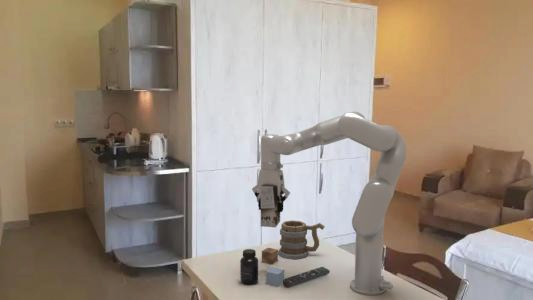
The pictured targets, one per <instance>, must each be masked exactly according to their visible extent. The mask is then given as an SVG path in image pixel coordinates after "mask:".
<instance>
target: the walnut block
mask: <svg viewBox="0 0 533 300" xmlns="http://www.w3.org/2000/svg"><path fill="white" fill-rule="evenodd" d="M278 251H279V249H277V248H271V247H267V248H263V250H261V263H264V264H268V265H273V264H275V263H277V262H278V261H279V259H278V258H279V257H278V256H279V254H278Z"/></svg>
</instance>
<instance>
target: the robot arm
mask: <svg viewBox="0 0 533 300" xmlns="http://www.w3.org/2000/svg"><path fill="white" fill-rule="evenodd" d="M345 139H350V140H351V141H353V142H355V143H358V144H359V145H362V146H364V147H366V148H368V149H371V150H373V151H376V152H380V155H379V158H378V160H377V162H376V166H375V168H374V172H373V173H372V177H371V178H370V180H369V181H368V182H367V183H366V184H365V186H364V188H363V190H362V193H361V195H360V197H359V199H358V202H357V205H356V207H355V211H354V213H353V215H352V218H351V225H352V228H353V231H354V232H355V250H354V251H355V253H354V256H355V257H354V258H355V259H354V279H352V280H351V281H350V283H349V286H350V289H351V290H352V291H354V292H356V293H358V294H360V295H367V296H376V295H382V294H383V293H384V292H385V291H386V290H390V291H393V288H394V285H393V284H392V282H391V281H388V280H385V279H384V278H385V277H384V276H383V275H382V274H383V273H382V271H383V270H382V269H383V268H382V267H383V246H384V244H383V243H384V242H383V241H384V230H385V215H386V213H387V210H388V208H389V205H390V203H391V201H392V198H393V197H394V193H395V190H396V185H397V183H398V181H399V179H400V175H401V172H402V170H403V167H404V164H405V160H406V154H407V149H406V148H407V146H406V143H405V139H404V138H403V136H402V135H401V134H400V132H399V131H398V130H397V128H395V127H393V126H391V125H389V124H382V125H380V124H378V123H375V122H374V121H371V120H369V119H367V118H365V116H364V115H363V114H362V113H361V112H359V111H349V112H348V111H347V112H345V113H343V114H342V115H339V116H336V117H333V118H329V119H326V120H324V121H321V122H318V123H316V124H315V125H314V126H312V127H309V128H306V129H304V130H301V131H297V132H295V133H290V134H286V135H285V134H284V135H278V134H271V133H270V134H263V135H262V136H261V138H260V169H259V172H258V177H257V178H258V179H257V184H256V185H255V186H253V187H252V188H251V189H252V192H253V193H254V196H255V197H256V200H257V205H258V211H261V185H274V186H277V200H278V201H279V202H278V203H277V212H278V213H280V214H281V213H282V212H283V211H284V202H285V201H286V200H287V199H288V197H289V196H290V194H291V191H289V190H288V189H287V188H286V186H285V177H284V172H283V170H282V169H283V167H284V165H283V164H282V163H281V155H283V156H291V155H294V154H297V153H299V152H302V151H305V150H308V149H312V148H315V147H319V146H325V145H327V146H328V145H330V144H334V143H337V142H340V141H342V140H345Z"/></svg>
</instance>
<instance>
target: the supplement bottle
mask: <svg viewBox="0 0 533 300" xmlns="http://www.w3.org/2000/svg"><path fill="white" fill-rule="evenodd" d="M256 255H257V253H256V250H255V249H254V248H247V249H243V251H242V257H241V259H240V260H239V261H240V262H239V264H240V265H239V268H240V269H239V271H240V272H239V273H240V275H239V277H240V278H239V279H240V280H239V281H240V283H241V284H243V285H246V286H248V285H249V286H251V285H256V284H257V283H258V282H259V259H258V257H257V256H256Z"/></svg>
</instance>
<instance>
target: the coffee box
mask: <svg viewBox="0 0 533 300" xmlns="http://www.w3.org/2000/svg"><path fill="white" fill-rule="evenodd" d="M278 202H279V201H278V200H277V186H274V185H261V210H260V227H262V228H263V227H264V228H265V227H266V228H277V227H278V225H279V223H280V222H281V212H280V213H278V212H277V203H278Z"/></svg>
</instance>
